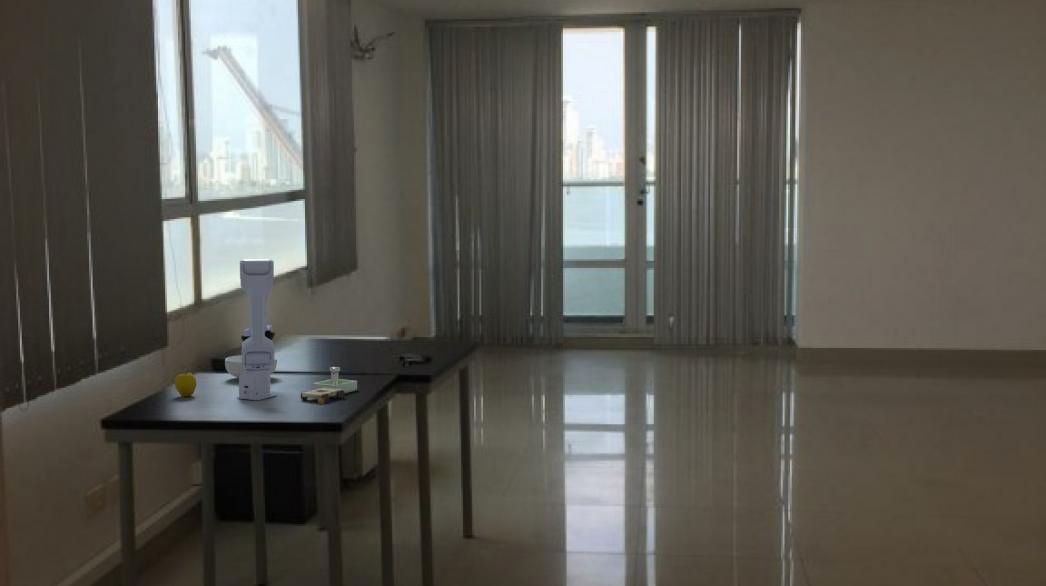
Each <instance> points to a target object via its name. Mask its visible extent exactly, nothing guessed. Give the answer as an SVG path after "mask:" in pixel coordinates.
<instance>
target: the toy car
mask: <svg viewBox="0 0 1046 586" xmlns="http://www.w3.org/2000/svg"><path fill="white" fill-rule="evenodd" d="M345 394H346V393H344V391H343V389H334V388H317V389H316V390H313V389H312V390H308V391H302V392H301V393H300V399H301V400H302V401H307V400H308V399H309V398H312V399H317V404H319V405H322V404H325V403H327V404H328V402H329V400H330V397H334V396H336V397H337V399H342V400H343V399H344V397H345Z"/></svg>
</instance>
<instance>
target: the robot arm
mask: <svg viewBox="0 0 1046 586" xmlns="http://www.w3.org/2000/svg"><path fill="white" fill-rule="evenodd" d="M274 263H275V262H274V260H273V259H272V258H270V259H244V258H243V259H242V258H241V260H240V261H239V279H240V281H239V282H240V287H241V290H242V291H243V292H245V293H247V296H248V328H247V327H246V328H245V329H243V332H242V333H243V334H242V335H241V340H242V344H241V355H242V366H243V367H245V366H246V370H245V371H244V372H242V373H241V374H240V376H239V378H238V396H236V399H241V400H252V401H260V400H264V399H269V398H274V397H277V396H278V395H277V394H276V393H271V375H270V369H271V367H273V366H274V357H275V344H274V342H273V338H274V337H275V335H276V333H275V332H274V331H273V325H272V324H268V294H269V292H271V291H272V290H273V287H274V277H275V276H274V274H275V272H274V271H275V267H274V266H275V265H274ZM270 360H271V364H270Z"/></svg>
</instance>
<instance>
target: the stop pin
mask: <svg viewBox="0 0 1046 586" xmlns="http://www.w3.org/2000/svg"><path fill="white" fill-rule="evenodd" d="M340 371H341V367H339V366H331V367H329V372H330V374H331V375H330V377H331V378H330V379H331V385H338V379H339V372H340Z"/></svg>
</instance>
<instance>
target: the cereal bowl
mask: <svg viewBox="0 0 1046 586" xmlns="http://www.w3.org/2000/svg"><path fill="white" fill-rule="evenodd" d="M224 359H225V360H224V366H225V370H226V371H227V372H228V374H229V375H231V376H232V377H235V378H237V379H239V376H240V374H241V373H242V372H244V371H245V370H246V366H245V367H243V366H242V354H241V355H233V356H228V357H226V358H224ZM277 362H278V359H277V357H275V356H274V366H273V367H271V369H270V376H271V375H272V374H274V372H275V371H276V369H277V365H278V363H277ZM270 364H271V360H270Z"/></svg>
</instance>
